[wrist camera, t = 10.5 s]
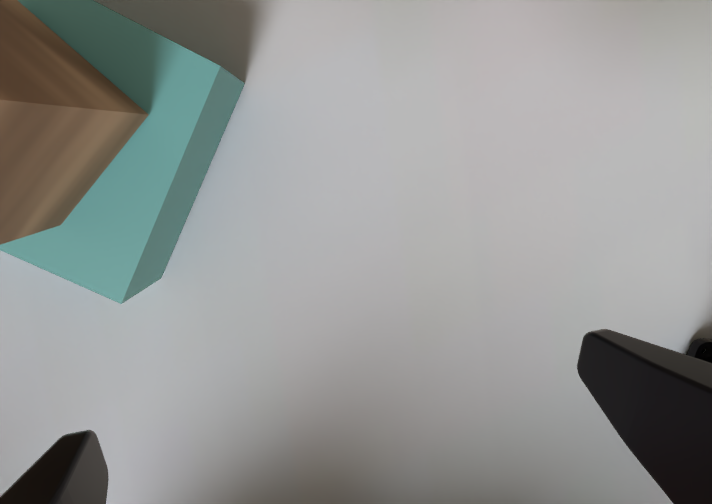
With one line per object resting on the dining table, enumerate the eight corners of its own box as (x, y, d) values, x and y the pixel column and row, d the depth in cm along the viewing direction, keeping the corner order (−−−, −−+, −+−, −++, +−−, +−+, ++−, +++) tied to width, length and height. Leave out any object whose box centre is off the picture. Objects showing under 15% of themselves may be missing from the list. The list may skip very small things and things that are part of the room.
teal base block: (246, 84, 19) (220, 65, 15) (164, 275, 20) (121, 303, 17) (34, -24, 18) (-54, -75, 14) (-35, 184, 20) (-132, 191, 16)
